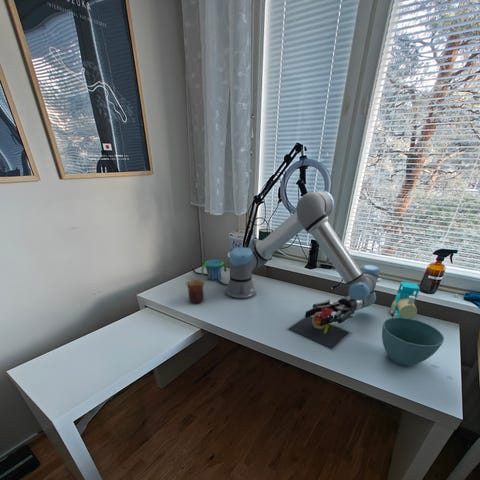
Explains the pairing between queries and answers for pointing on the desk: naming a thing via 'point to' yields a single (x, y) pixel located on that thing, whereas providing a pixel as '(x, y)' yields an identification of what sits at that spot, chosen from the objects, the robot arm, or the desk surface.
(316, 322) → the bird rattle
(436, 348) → the teal green bowl
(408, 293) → the toy train
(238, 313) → the desk surface
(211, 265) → the snack cup
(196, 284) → the mug
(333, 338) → the mat
